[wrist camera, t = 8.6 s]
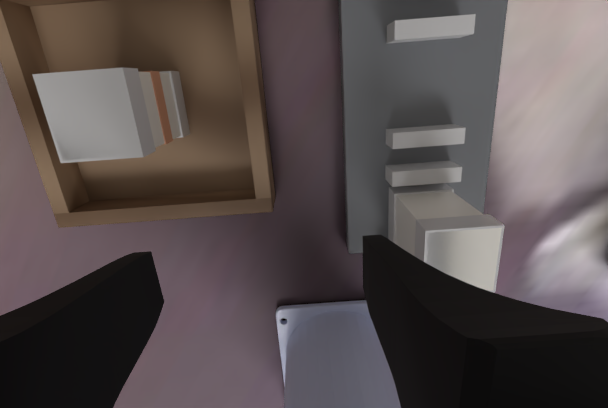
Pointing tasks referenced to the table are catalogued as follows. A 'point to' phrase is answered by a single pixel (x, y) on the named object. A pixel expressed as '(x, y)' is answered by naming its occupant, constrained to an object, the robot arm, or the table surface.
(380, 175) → the fuse holder
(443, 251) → the block
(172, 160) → the tray
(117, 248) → the table surface
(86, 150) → the block
